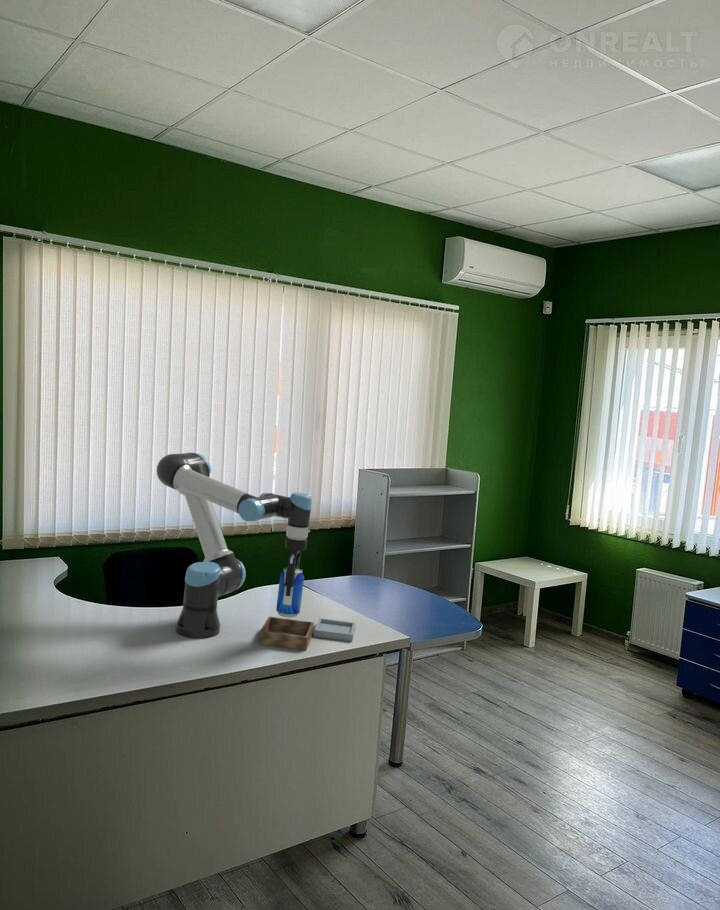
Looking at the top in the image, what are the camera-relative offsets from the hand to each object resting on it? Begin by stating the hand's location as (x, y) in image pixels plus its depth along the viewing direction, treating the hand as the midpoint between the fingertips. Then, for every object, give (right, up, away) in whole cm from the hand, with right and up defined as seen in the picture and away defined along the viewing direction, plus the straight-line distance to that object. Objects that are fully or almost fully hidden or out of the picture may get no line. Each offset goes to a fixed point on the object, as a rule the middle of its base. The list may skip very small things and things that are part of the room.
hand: (289, 600), depth 253 cm
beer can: (-1, -5, +1) cm, 5 cm away
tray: (+16, -15, +13) cm, 25 cm away
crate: (-1, -14, +1) cm, 14 cm away
